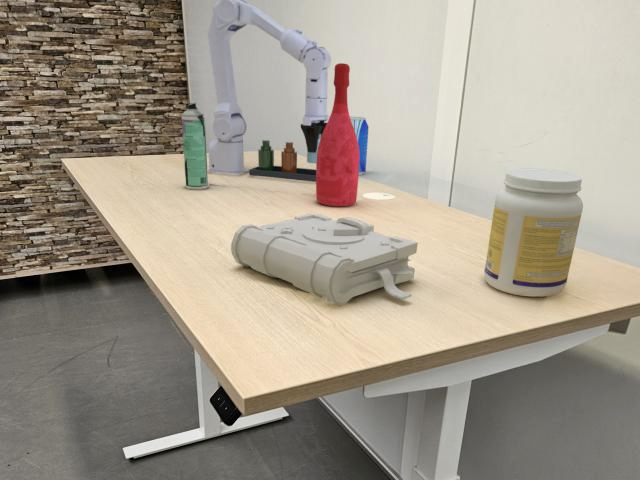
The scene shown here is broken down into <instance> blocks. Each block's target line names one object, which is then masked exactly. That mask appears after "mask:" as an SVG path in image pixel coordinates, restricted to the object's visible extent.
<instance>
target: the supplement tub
mask: <svg viewBox="0 0 640 480" xmlns="http://www.w3.org/2000/svg"><path fill="white" fill-rule="evenodd" d="M582 181H583V178H582V176H580V175H578V174H576V173H571V172H568V171H561V170H554V169H546V168H525V167H524V168H512V169H508V170H507V171H506V173H505V178H504V180H503V184H504V186H505V187H504V188H503V189H501V190H500V191H499V192H498V193H497V194H496V197H495V200H494V207H493V212H492V219H491V226H490V233H489V240H488V246H487V252H486V254H487V255H486V260H485V266H484V270H483V271H484V272H483V273H484V275H483V276H484V279H485V281H486V282H487V284H488V285H489V286H491V287H492V288H494V289H496V290H498V291H501V292H504V293H508V294H510V295H513V296H514V295H515V296H521V297H529V298H531V297H535V298H536V297H537V298H538V297H539V298H540V297H542V298H543V297H551V296H554V295H557V294H559V293H561V292H562V291H563V290H564V289H565V287H566V285H567V283H568V278H569V273H570V268H571V263H572V259H573V256H574V251H575V246H576V241H577V238H578V237H577V236H578V233H579V227H580V222H581V219H582V218H581V217H582V213H583V208H584V204H583V199H581V197H580V196H579V195H578V192H581V190H582Z"/></svg>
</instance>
